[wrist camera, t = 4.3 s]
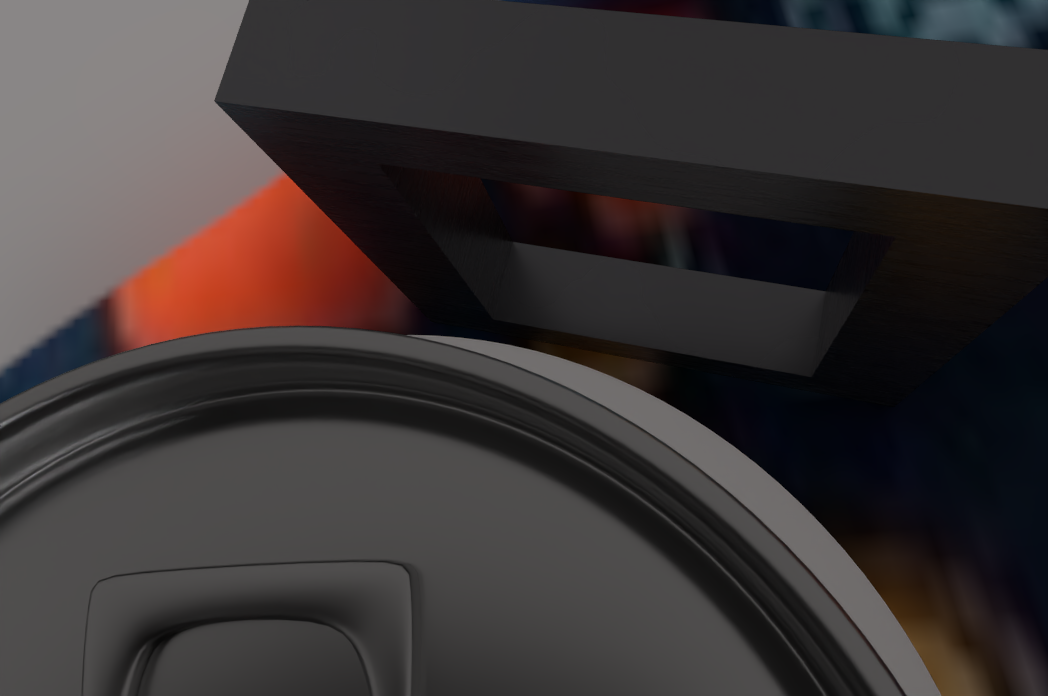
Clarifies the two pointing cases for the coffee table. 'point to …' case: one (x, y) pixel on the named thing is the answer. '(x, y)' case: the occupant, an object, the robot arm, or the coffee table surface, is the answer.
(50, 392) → the can
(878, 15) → the coffee table surface
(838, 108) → the dark grey square frame
